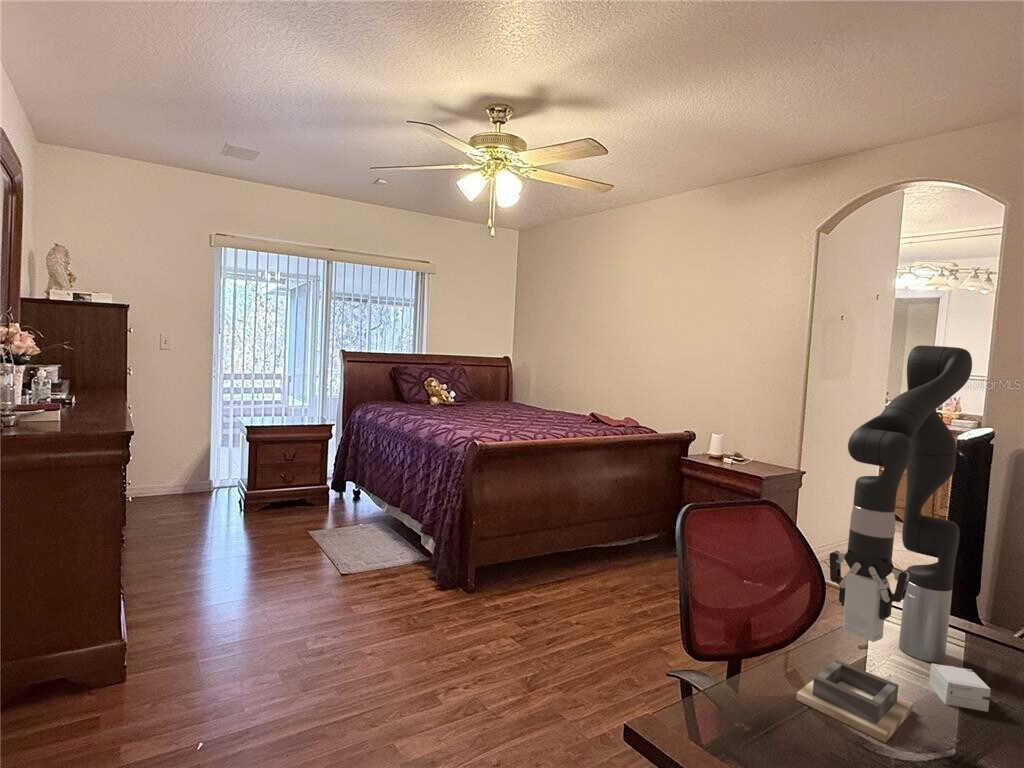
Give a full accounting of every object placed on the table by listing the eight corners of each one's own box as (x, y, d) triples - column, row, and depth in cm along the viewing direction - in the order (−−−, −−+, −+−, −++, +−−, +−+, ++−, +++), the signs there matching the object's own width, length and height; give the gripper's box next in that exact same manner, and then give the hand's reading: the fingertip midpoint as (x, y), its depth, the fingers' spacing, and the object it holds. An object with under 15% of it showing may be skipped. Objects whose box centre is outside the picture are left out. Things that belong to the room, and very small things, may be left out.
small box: (945, 705, 119) (947, 681, 119) (928, 684, 127) (930, 662, 127) (989, 713, 117) (991, 688, 117) (969, 691, 125) (971, 668, 125)
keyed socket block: (827, 674, 129) (829, 652, 128) (912, 710, 116) (914, 686, 116) (796, 699, 118) (798, 676, 118) (885, 742, 106) (887, 716, 106)
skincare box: (883, 638, 115) (889, 578, 114) (872, 643, 112) (878, 582, 112) (851, 625, 120) (856, 568, 119) (840, 630, 118) (845, 571, 117)
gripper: (825, 523, 118) (818, 603, 119) (908, 543, 107) (899, 631, 108) (839, 517, 123) (832, 594, 124) (920, 537, 112) (911, 621, 113)
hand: (863, 611), depth 116 cm, fingers closed on skincare box, 6 cm apart
